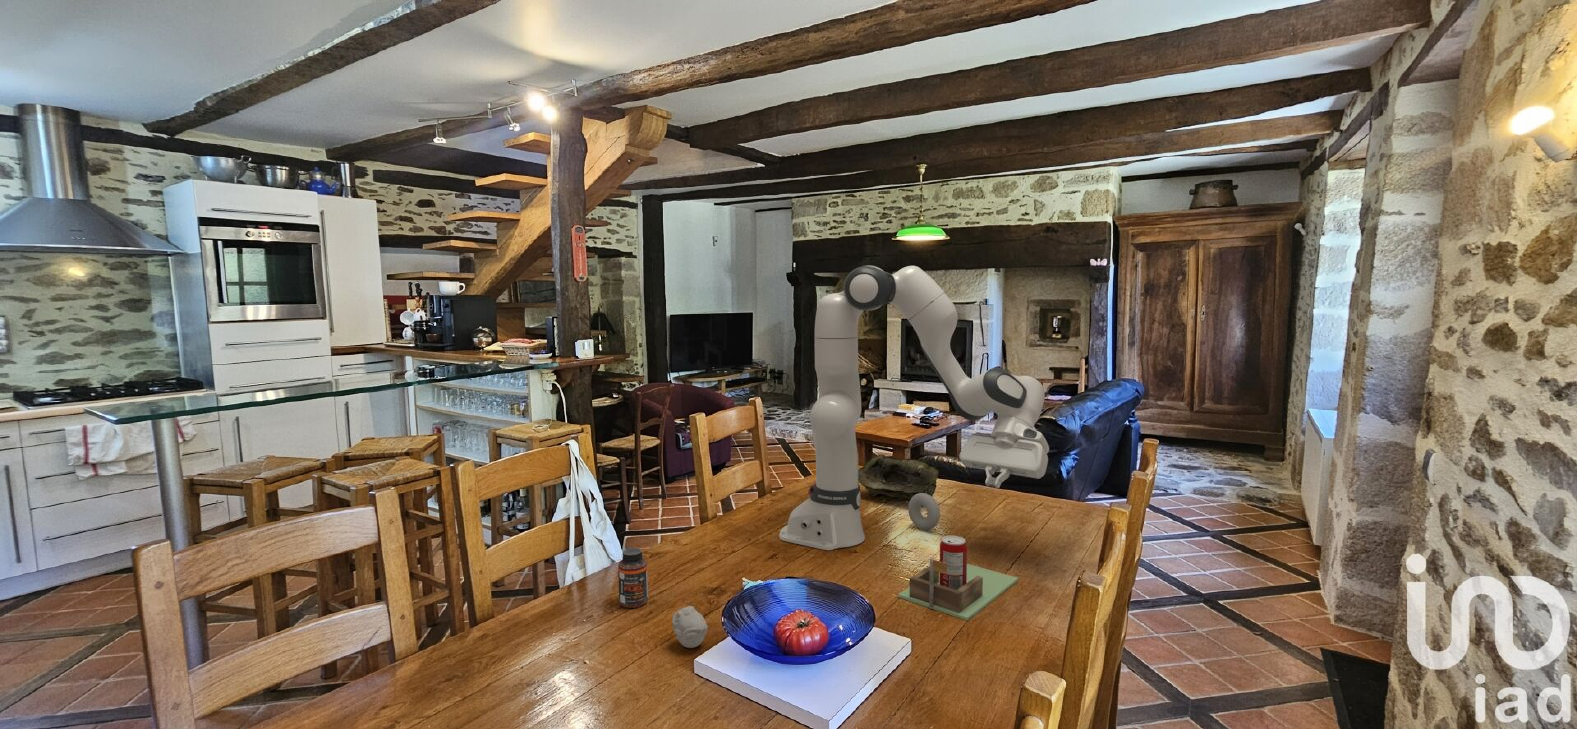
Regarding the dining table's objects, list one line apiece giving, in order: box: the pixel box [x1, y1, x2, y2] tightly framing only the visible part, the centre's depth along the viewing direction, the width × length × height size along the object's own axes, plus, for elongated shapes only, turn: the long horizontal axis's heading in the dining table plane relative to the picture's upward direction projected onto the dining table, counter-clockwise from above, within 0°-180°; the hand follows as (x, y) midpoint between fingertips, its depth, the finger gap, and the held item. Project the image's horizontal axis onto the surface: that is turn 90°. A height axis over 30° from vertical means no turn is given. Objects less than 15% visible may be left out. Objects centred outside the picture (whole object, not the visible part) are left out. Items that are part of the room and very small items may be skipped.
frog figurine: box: [671, 605, 709, 649], centre depth 124 cm, size 6×7×7 cm
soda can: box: [939, 535, 968, 590], centre depth 142 cm, size 6×6×12 cm
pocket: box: [909, 557, 983, 613], centre depth 140 cm, size 12×11×10 cm
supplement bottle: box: [617, 547, 649, 609], centre depth 141 cm, size 6×6×11 cm
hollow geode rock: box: [858, 454, 940, 508], centre depth 209 cm, size 28×13×15 cm
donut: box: [907, 493, 941, 531], centre depth 182 cm, size 10×4×10 cm, turn 40°
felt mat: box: [897, 563, 1019, 622], centre depth 146 cm, size 24×16×1 cm, turn 138°
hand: (991, 485), depth 156 cm, fingers closed
